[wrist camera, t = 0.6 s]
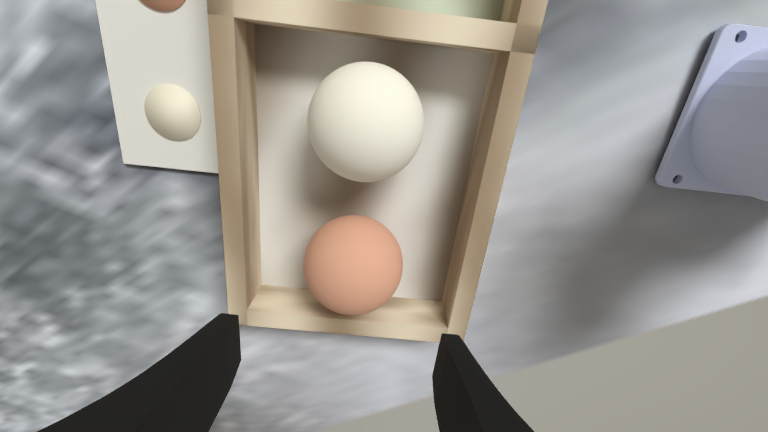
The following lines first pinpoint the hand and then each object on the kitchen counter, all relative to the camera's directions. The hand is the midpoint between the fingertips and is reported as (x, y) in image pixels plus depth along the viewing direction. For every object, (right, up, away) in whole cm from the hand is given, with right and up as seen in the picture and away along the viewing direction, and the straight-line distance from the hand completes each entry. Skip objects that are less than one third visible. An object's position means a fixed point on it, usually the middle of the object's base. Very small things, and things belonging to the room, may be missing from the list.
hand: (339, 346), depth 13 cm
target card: (-9, +14, +4) cm, 17 cm away
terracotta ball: (0, +2, +5) cm, 6 cm away
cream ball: (+1, +9, +3) cm, 9 cm away
